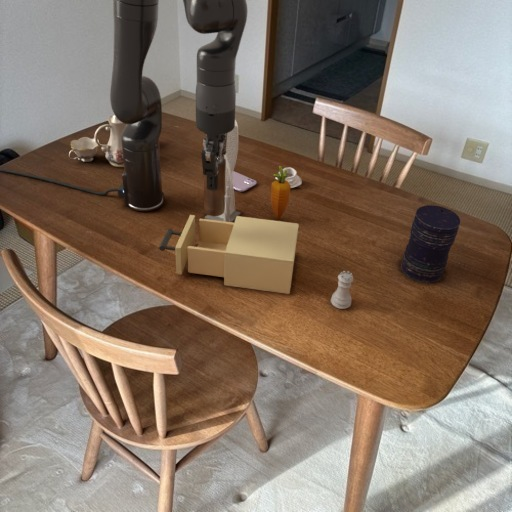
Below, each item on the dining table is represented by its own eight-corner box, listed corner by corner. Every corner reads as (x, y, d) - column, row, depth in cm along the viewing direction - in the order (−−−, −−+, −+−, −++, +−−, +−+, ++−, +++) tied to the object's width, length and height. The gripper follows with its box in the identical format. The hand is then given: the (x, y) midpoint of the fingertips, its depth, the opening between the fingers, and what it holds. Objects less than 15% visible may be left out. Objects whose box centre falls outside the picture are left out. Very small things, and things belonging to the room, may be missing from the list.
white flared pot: (305, 186, 156) (308, 171, 153) (292, 193, 151) (296, 178, 149) (282, 176, 159) (286, 161, 157) (270, 182, 155) (273, 167, 152)
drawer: (155, 271, 118) (153, 244, 114) (171, 237, 129) (170, 212, 124) (235, 281, 116) (237, 255, 112) (245, 247, 127) (246, 221, 123)
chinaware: (144, 141, 176) (137, 91, 167) (173, 154, 165) (167, 102, 156) (65, 164, 160) (53, 110, 151) (91, 181, 150) (80, 123, 141)
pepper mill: (202, 214, 112) (201, 161, 105) (206, 204, 116) (206, 151, 108) (222, 217, 112) (223, 163, 105) (226, 206, 116) (227, 154, 108)
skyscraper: (199, 217, 138) (198, 114, 121) (214, 203, 144) (215, 103, 127) (228, 226, 135) (231, 123, 119) (242, 211, 141) (247, 111, 125)
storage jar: (435, 288, 120) (454, 234, 111) (394, 272, 124) (409, 219, 115) (447, 266, 127) (466, 214, 118) (408, 252, 131) (423, 200, 122)
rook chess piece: (328, 296, 116) (333, 267, 111) (348, 296, 116) (354, 267, 111) (332, 310, 112) (338, 281, 107) (353, 310, 113) (359, 281, 108)
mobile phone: (220, 164, 160) (258, 180, 153) (220, 166, 161) (258, 183, 154) (202, 172, 155) (241, 190, 148) (202, 175, 156) (241, 193, 149)
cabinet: (224, 285, 117) (224, 252, 111) (235, 247, 128) (236, 215, 123) (289, 294, 116) (293, 261, 110) (295, 255, 127) (298, 223, 122)
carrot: (285, 226, 137) (290, 174, 128) (266, 223, 138) (270, 171, 129) (288, 216, 141) (293, 165, 132) (270, 213, 142) (274, 162, 133)
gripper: (204, 89, 106) (204, 165, 116) (186, 115, 94) (188, 198, 105) (241, 93, 105) (238, 169, 115) (227, 120, 94) (225, 203, 104)
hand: (214, 183), depth 110 cm, fingers closed on pepper mill, 4 cm apart
